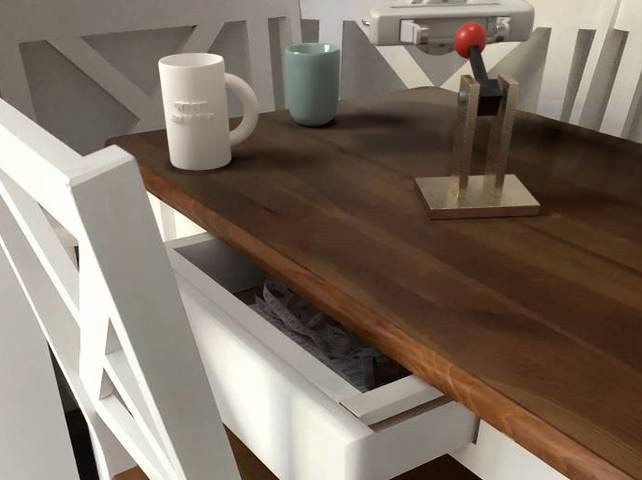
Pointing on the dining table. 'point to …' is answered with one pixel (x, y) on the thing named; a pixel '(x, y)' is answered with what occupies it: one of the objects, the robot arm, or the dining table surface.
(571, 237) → the dining table surface
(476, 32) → the switch
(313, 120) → the cup
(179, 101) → the mug
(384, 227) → the dining table surface
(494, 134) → the bracket
